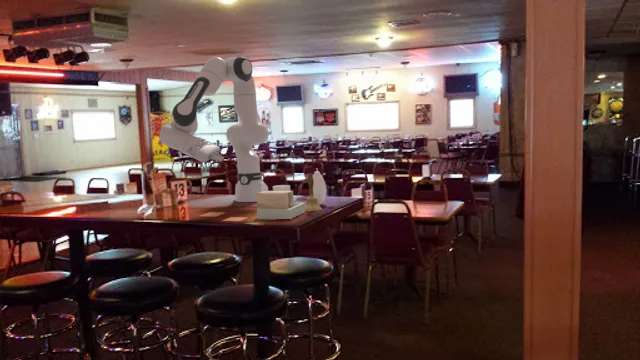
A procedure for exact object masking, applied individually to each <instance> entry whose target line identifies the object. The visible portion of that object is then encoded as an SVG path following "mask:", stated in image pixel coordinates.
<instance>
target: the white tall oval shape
mask: <svg viewBox="0 0 640 360" xmlns="http://www.w3.org/2000/svg"><path fill="white" fill-rule="evenodd" d="M312 176H313V180H314V184H313V194H314V196H315V197H316V198H317V202H318V205H319V206H321V205H322V204H323V203H324V202H325V200H326V196H327V186H326V182H325V179H324V177H323V175H322V174H321V172H320V171H318V169H316V171H314V173H313V174H312ZM309 193H310V192H309ZM309 193H308V194H309Z"/></svg>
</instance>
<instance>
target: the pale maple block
mask: <svg viewBox="0 0 640 360" xmlns="http://www.w3.org/2000/svg"><path fill="white" fill-rule="evenodd" d="M294 203H295V202H294V190H290V191H273V190H268V191H262V192H259V193H257V201H256V210H257V209H290V208H292V207H294Z"/></svg>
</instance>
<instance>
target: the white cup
mask: <svg viewBox="0 0 640 360" xmlns="http://www.w3.org/2000/svg"><path fill="white" fill-rule="evenodd" d="M272 191H291V185H290V184H280V185H279V184H278V185H273V186H272Z"/></svg>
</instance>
